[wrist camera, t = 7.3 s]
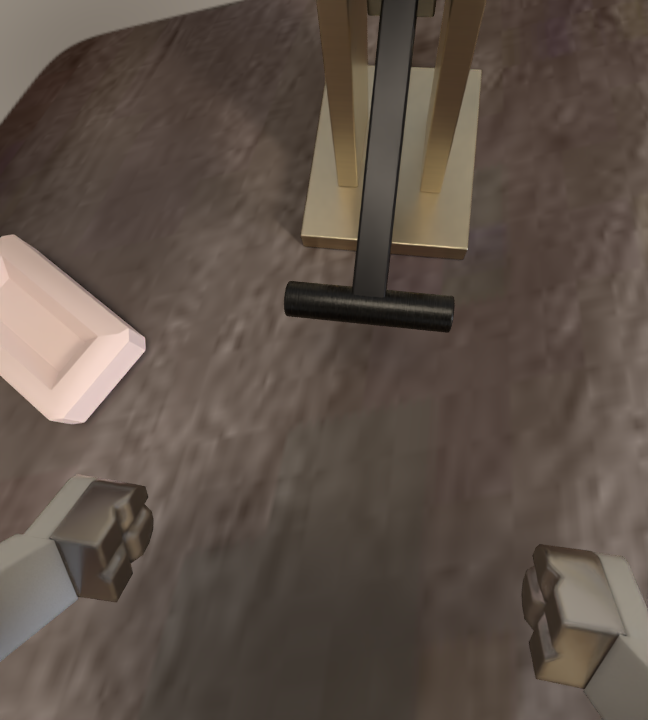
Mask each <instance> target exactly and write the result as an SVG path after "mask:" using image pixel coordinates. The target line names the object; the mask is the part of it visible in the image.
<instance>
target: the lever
mask: <svg viewBox="0 0 648 720" xmlns="http://www.w3.org/2000/svg"><path fill="white" fill-rule="evenodd" d="M435 7H436V0H367V11H368V15H370V16H380V21H379V31H378V41H377V51H376V61H375V71H374V80H373V90H372V100H371V110H370V120H369V130H368V139H367V149H366V159H365V169H364V179H363V189H362V198H361V208H360V218H359V228H358V238H357V247H356V257H355V267H354V277H353V287H350V286H339V285H328V284H318V283H307V282H296V281H289V282H288V284H287V287H286V291H285V297H284V310H285V314H286V316H291V317H301V318H310V319H320V320H330V321H340V322H349V323H359V324H369V325H378V326H388V327H398V328H408V329H417V330H427V331H437V332H447V333H448V332H449V331H450V330H451V326H452V322H453V315H454V297H453V296H446V295H435V294H425V293H414V292H403V291H393V290H387V282H388V273H389V264H390V255H391V246H392V237H393V228H394V219H395V210H396V200H397V191H398V182H399V173H400V164H401V155H402V146H403V137H404V128H405V119H406V110H407V101H408V92H409V83H410V74H411V65H412V56H413V47H414V38H415V29H416V20H417V17H433V16H434V14H435Z"/></svg>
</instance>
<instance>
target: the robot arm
mask: <svg viewBox="0 0 648 720" xmlns="http://www.w3.org/2000/svg"><path fill="white" fill-rule="evenodd" d="M147 499H148V494H147V491H146V487H145V486H141V485H136V484H130V483H125V482H119V481H113V480H108V479H102V478H96V477H90V476H84V475H75V476H74V477H72V478H70V479H69V480H68V481H67V482H66V484H65V485H64V486H63V487H62V488H61V490H60V491H59V492H58V493H57V494H56V496H55V497H54V498H53V499H52V501H51V502H50V503H49V504H48V505H47V507H46V508H45V509H44V510H43V511H42V513H41V514H40V515H39V516H38V517H37V519H36V520H35V521H34V522H33V524H32V525H31V526H30V527H29V528H28V530H27V531H26V532H25V533H24V534H23V535H22V534H15V535H14V536H12V537H10V538H8V539H6V540H4V541H3V542H1V543H0V661H2V660H3V659H4V658H5V657H7V656H8V655H9V654H10V653H12V652H13V651H14V650H15V649H16V648H18V647H19V646H20V645H21V644H23V643H24V642H25V641H26V640H28V639H29V638H30V637H31V636H33V635H34V634H35V633H36V632H38V631H39V630H40V629H41V628H43V627H44V626H45V625H46V624H48V623H49V622H50V621H51V620H53V619H54V618H55V617H56V616H58V615H59V614H60V613H61V612H63V611H64V610H65V609H66V608H68V607H69V606H70V605H71V604H73V603H74V602H75V601H76V600H78V597H84V598H90V599H97V600H104V601H110V602H117V601H118V599H119V597H120V596H121V594H122V592H123V590H124V588H125V587H126V585H127V583H128V581H129V579H130V578H131V576H132V574H133V572H132V566H131V563H132V562H133V561H135V560H136V559H138V558H139V557H141V556H142V555H143V554H144V552H145V550H146V548H147V546H148V544H149V542H150V539H151V535H152V532H153V515H152V511H151V510H150V509H149V508H148V507H147V506H146V505H145V502H146V500H147ZM532 556H533V561H534V566H533V567H531V568H529V569H528V570H527V571H526V573H525V576H524V579H523V585H522V607H523V613H524V619H525V620H526V622H527V623H528V624H529V625H530V627H531V628H532V629H533V630H534V632H533V634H532V636H531V639H530V641H529V646H530V651H531V657H532V662H533V667H534V672H535V677H536V679H539V680H544V681H548V682H553V683H558V684H563V685H568V686H572V687H577V688H582V689H585V690H584V693H585V694H586V696H587V697H588V699H589V700H590V702H591V703H592V704H593V706H594V707H595V709H596V710H597V712H598V713H599V715H600V716H601V717H602V719H603V720H648V609H647V607H646V604H645V602H644V599H643V597H642V595H641V592H640V590H639V587H638V585H637V583H636V580H635V578H634V575H633V573H632V571H631V568H630V566H629V563H628V561H627V560H626V559H625V558H624V557H623V556H617V555H610V554H603V553H597V552H592V551H586V550H579V549H572V548H564V547H557V546H550V545H542V544H539V545H538V546H537V547H536V548H535V551H534V553H533V555H532Z"/></svg>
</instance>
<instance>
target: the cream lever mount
mask: <svg viewBox="0 0 648 720" xmlns="http://www.w3.org/2000/svg"><path fill="white" fill-rule="evenodd" d="M486 1H487V0H445V5H444V12H443V18H442V25H441V31H440V38H439V44H438V51H437V57H436V64H435V68H419V67H411V74H410V83H409V92H408V101H407V110H406V119H405V128H404V137H403V146H402V155H401V164H400V173H399V182H398V191H397V200H396V210H395V219H394V228H393V237H392V246H391V254H400V255H412V256H424V257H436V258H448V259H460V260H463V259H464V256H465V254H466V252H467V249H468V239H469V227H470V214H471V202H472V189H473V177H474V164H475V152H476V139H477V127H478V114H479V102H480V89H481V77H482V70H472V69H470V68H471V64H472V60H473V55H474V51H475V47H476V43H477V39H478V35H479V30H480V26H481V22H482V18H483V14H484V10H485V5H486ZM316 4H317V12H318V20H319V29H320V37H321V46H322V54H323V62H324V71H325V84H324V91H323V97H322V103H321V109H320V116H319V122H318V128H317V134H316V141H315V147H314V153H313V160H312V166H311V172H310V178H309V185H308V191H307V197H306V203H305V210H304V216H303V222H302V228H301V239H302V242H303V245H304V246H306V247H318V248H329V249H341V250H353V251H356V247H357V238H358V228H359V218H360V208H361V198H362V189H363V179H364V169H365V159H366V149H367V139H368V130H369V120H370V110H371V100H372V90H373V80H374V71H375V66H368V52H367V0H316Z"/></svg>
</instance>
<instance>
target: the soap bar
mask: <svg viewBox="0 0 648 720" xmlns="http://www.w3.org/2000/svg"><path fill="white" fill-rule="evenodd" d="M145 350H146V347H145V337H143V336H142V335H141V334H140V333H138V332H137V331H136V330H135V329H134V328H132V327H131V326H130V325H129V324H127V323H126V322H125V321H124V320H122V319H121V318H120V317H119V316H118V315H116V314H115V313H114V312H113V311H111V310H110V309H109V308H108V307H107V306H105V305H104V304H103V303H102V302H100V301H99V300H98V299H97V298H95V297H94V296H93V295H92V294H91V293H89V292H88V291H87V290H86V289H84V288H83V287H82V286H81V285H79V284H78V283H77V282H76V281H75V280H73V279H72V278H71V277H70V276H68V275H67V274H66V273H65V272H63V271H62V270H61V269H60V268H59V267H57V266H56V265H55V264H54V263H52V262H51V261H50V260H49V259H47V258H46V257H45V256H44V255H43V254H41V253H40V252H39V251H38V250H36V249H35V248H33V247H32V246H30V245H29V244H27V243H26V242H24V241H23V240H21V239H20V238H18V237H17V236H15V235H14V234H13V235H6V236H1V238H0V376H1V377H3V378H4V379H5V380H6V381H7V382H8V383H9V384H10V385H11V386H12V387H13V388H15V389H16V390H17V391H18V392H19V393H20V394H21V395H22V396H23V397H24V398H25V399H27V400H28V401H29V402H30V403H31V404H32V405H33V406H34V407H35V408H36V409H37V410H39V411H40V412H41V413H42V414H43V415H44V416H45V417H46V418H47V419H48V420H50V421H56V422H62V423H68V424H77V423H84V422H85V421H86V420H87V419H88V418H89V417H90V415H91V414H92V413H93V412H94V411H95V409H96V408H97V407H98V406H99V405H100V404H101V402H102V401H103V400H104V399H105V398H106V396H107V395H108V394H109V393H110V392H111V391H112V389H113V388H114V387H115V386H116V385H117V383H118V382H119V381H120V380H121V379H122V378H123V376H124V375H125V374H126V373H127V372H128V370H129V369H130V368H131V367H132V366H133V365H134V363H135V362H136V361H137V360H138V359H139V357H140V356H141V355H142V354H143V353H144V352H145Z"/></svg>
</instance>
